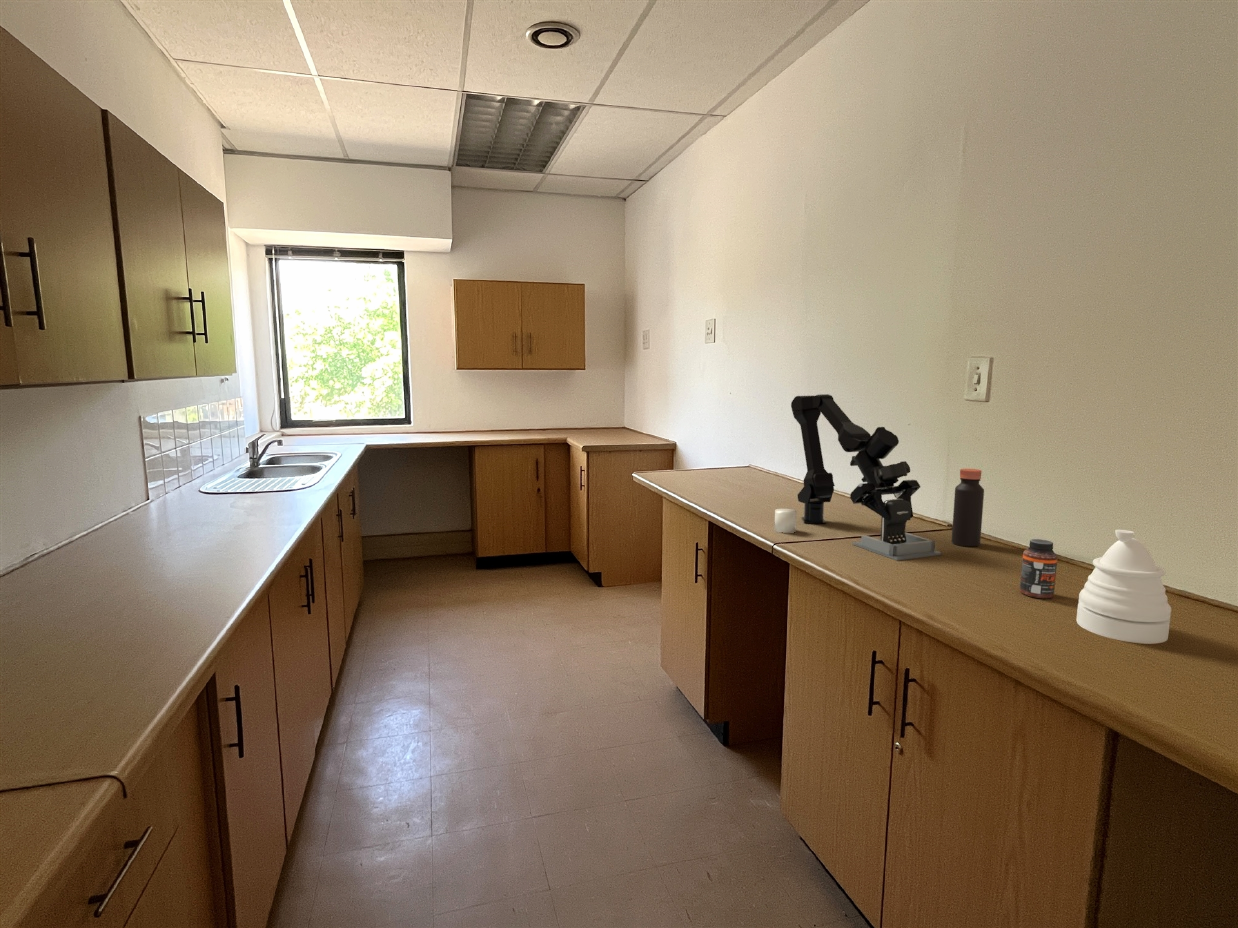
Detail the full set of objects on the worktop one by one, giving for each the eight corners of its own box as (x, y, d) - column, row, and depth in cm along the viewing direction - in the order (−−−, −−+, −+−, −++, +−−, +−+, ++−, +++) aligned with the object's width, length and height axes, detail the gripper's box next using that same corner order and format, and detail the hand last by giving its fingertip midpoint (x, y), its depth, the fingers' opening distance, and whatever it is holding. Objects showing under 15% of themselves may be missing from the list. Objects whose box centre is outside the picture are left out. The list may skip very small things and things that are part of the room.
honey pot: (1140, 649, 105) (1152, 543, 102) (1060, 621, 117) (1069, 525, 114) (1184, 635, 110) (1197, 534, 108) (1103, 610, 122) (1113, 519, 119)
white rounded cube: (773, 528, 189) (774, 508, 188) (794, 528, 188) (794, 508, 187) (775, 533, 183) (776, 512, 182) (797, 533, 182) (797, 513, 181)
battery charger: (890, 546, 162) (892, 502, 160) (879, 542, 165) (881, 499, 164) (911, 543, 164) (914, 500, 163) (899, 540, 168) (902, 497, 166)
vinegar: (982, 548, 166) (988, 472, 163) (953, 546, 168) (958, 471, 165) (977, 541, 172) (982, 468, 169) (949, 539, 174) (954, 467, 171)
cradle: (852, 544, 170) (852, 533, 170) (893, 539, 175) (894, 528, 174) (897, 560, 155) (897, 548, 155) (941, 554, 160) (942, 542, 159)
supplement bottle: (1043, 601, 127) (1048, 546, 125) (1013, 592, 132) (1017, 539, 131) (1060, 596, 130) (1065, 542, 128) (1030, 588, 135) (1034, 536, 133)
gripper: (860, 452, 162) (889, 503, 153) (917, 449, 168) (948, 498, 160) (838, 478, 170) (864, 528, 162) (893, 474, 177) (921, 521, 168)
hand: (900, 518), depth 163 cm, fingers closed on battery charger, 7 cm apart
